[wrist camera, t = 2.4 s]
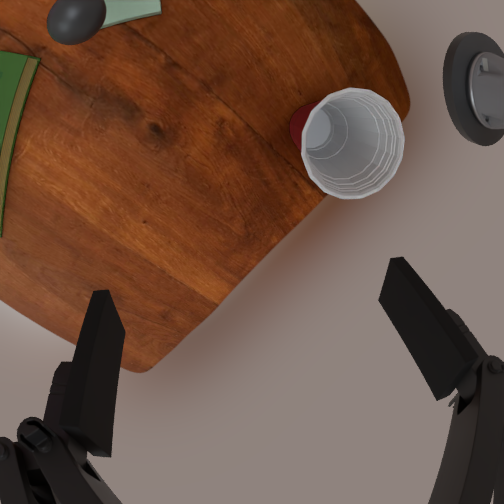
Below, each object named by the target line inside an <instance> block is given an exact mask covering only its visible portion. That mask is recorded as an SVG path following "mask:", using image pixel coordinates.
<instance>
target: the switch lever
mask: <svg viewBox="0 0 504 504" xmlns="http://www.w3.org/2000/svg"><path fill="white" fill-rule="evenodd" d="M106 13H107V9H106V4H105V1H104V0H57V1H56V2H55V4H54V5H53V6H52V8H51V10H50V12H49V14H48V18H47V29H48V32H49V34H50V36H51V37H52V38H53V39H54V40H55V41H57V42H58V43H61V44H65V45H75V44H79V43H82V42H85V41H87V40H89V39H90V38H92V37H93V36H94V35H95V34H96V33H97V32H98V31H99V30H100V28H101V27H102V25H103V23H104V21H105V18H106Z"/></svg>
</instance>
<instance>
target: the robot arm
mask: <svg viewBox="0 0 504 504" xmlns="http://www.w3.org/2000/svg"><path fill="white" fill-rule="evenodd" d="M465 86H466V96H467V101H468V104H469V108H470V110H471V112H472V115H473V116H474V118H475V119H476V121H477V122H478V123H479V124H480V125H482V126H484V127H487V128H490V129H504V58H502V57H500V56H498V55H496V54H493V53H490V52H478V53H476V54H475V55H474V56H473V57H472V58H471V60H470V62H469V64H468V67H467V71H466V81H465ZM378 301H379V302H380V304H381V305H382V307H383V309H384V310H385V312H386V313H387V315H388V317H389V318H390V320H391V321H392V323H393V325H394V326H395V328H396V330H397V331H398V333H399V335H400V336H401V338H402V340H403V341H404V343H405V345H406V347H407V348H408V350H409V352H410V353H411V355H412V357H413V359H414V360H415V362H416V364H417V366H418V367H419V369H420V371H421V373H422V374H423V376H424V378H425V380H426V382H427V384H428V385H429V387H430V389H431V391H432V393H433V395H434V397H435V398H436V400H437V401H438V400H440V399H443V398H445V397H447V396H449V395H450V394H451V393H452V392H453V391H454V389H455V388H456V389H457V390H458V393H457V394H456V396H455V397H454V398H453V399H452V400H451V401H450V403H449V405H448V406H449V407H450V406H451V405H452V404H453V403H454V402H455V404H454V406H453V408H454V410H453V415H452V420H451V425H450V430H449V434H448V439H447V443H446V447H445V451H444V455H443V458H442V462H441V466H440V469H439V472H438V476H437V479H436V482H435V485H434V488H433V491H432V494H431V498H430V500H429V503H428V504H490V502H491V498H492V494H493V490H494V500H493V504H504V362H503V361H502V360H500V359H499V358H498V357H496V356H491V355H490V356H488V355H487V354H486V352H485V351H484V349H483V348H482V347H481V345H480V344H479V342H478V341H477V339H476V338H475V337H474V335H473V334H472V332H470V331H469V329H468V327H467V326H466V325H465V323H464V322H463V320H462V319H461V318H460V316H459V315H458V314H456V313H455V312H454V311H452V310H451V309H447V310H445V308H444V307H443V306H442V305H441V303H440V302H439V301H438V299H437V298H436V297H435V295H434V294H433V293H432V291H431V290H430V289H429V288H428V286H427V285H426V284H425V283H424V282H423V280H422V279H421V278H420V277H419V275H418V274H417V273H416V272H415V271H414V269H413V268H412V267H411V266H410V265H409V263H408V262H407V261H406V260H405V259H404V257H396V258H390V262H389V266H388V269H387V273H386V276H385V280H384V283H383V286H382V290H381V293H380V297H379V300H378ZM124 338H125V329H124V327H123V325H122V322H121V320H120V317H119V315H118V312H117V310H116V307H115V305H114V302H113V300H112V297H111V295H110V292H109V290H98V291H93V294H92V297H91V300H90V303H89V306H88V309H87V312H86V315H85V318H84V322H83V325H82V328H81V332H80V335H79V338H78V342H77V346H76V350H75V353H74V357H73V360H72V362H61V364H60V365H59V366H58V368H57V369H56V371H55V373H54V377H53V381H52V385H51V388H50V394H49V396H48V401H47V406H46V410H45V414H44V419H43V421H42V420H41V419H39V418H37V417H29V418H26V419H24V420H23V422H21V423H20V426H19V427H18V429H17V439H18V442H12V441H11V440H10V439H8V438H6V437H0V500H1V504H122V503H121V501H120V500H119V499H118V498H117V497H116V495H115V494H114V493H113V492H112V491H111V489H110V488H109V487H108V486H107V484H106V483H105V482H104V480H103V479H102V478H101V477H100V475H99V474H98V473H97V471H96V470H95V468H94V467H93V466H92V465H91V463H90V461H89V460H88V459H87V451H88V452H90V453H91V454H92V455H93V456H100V457H111V451H112V437H113V425H114V424H113V423H114V413H115V404H116V395H117V386H118V378H119V371H120V364H121V357H122V351H123V344H124Z"/></svg>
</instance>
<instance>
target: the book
mask: <svg viewBox="0 0 504 504" xmlns="http://www.w3.org/2000/svg"><path fill="white" fill-rule="evenodd" d="M40 60H41V58H37V57H32V56H27V55H22V54H16V53H11V52H5V51H0V237H2V227H3V215H4V206H5V197H6V190H7V183H8V177H9V171H10V165H11V160H12V155H13V150H14V145H15V141H16V137H17V133H18V129H19V125H20V121H21V117H22V114H23V110H24V107H25V103H26V100H27V97H28V94H29V91H30V88H31V85H32V82H33V79H34V76H35V73H36V70H37V68H38V65H39V63H40Z"/></svg>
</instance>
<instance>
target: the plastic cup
mask: <svg viewBox="0 0 504 504" xmlns="http://www.w3.org/2000/svg"><path fill="white" fill-rule="evenodd" d="M290 135H291V137H292V140H293V142H294V143H295V144H296V145H297V147H298V149H299V150H300V152H301V156H302V159H303V161H304V164H305V167H306V169H307V172H308V175H309V177H310V178H311V179H312V180H313V181H314V182H315V183H316V184H317V185H318V186H319V187H320V188H321V189H322V191H323V192H325V193H328V194H330V195H333V196H335V197H338V198H340V199H361V198H364V197H366V196H368V195H371V194H373V193H375V192H377V191H379V190H381V189H382V188H383V186H384V185H385V184H386V183H388V182H389V181H390V180H391V179H392V178H393V176H394V175H395V173H396V171H397V168H398V166H399V164H400V162H401V160H402V157H403V149H404V140H405V137H404V133H403V129H402V124H401V120H400V117H399V116H398V114H397V113H396V111H395V110H394V109H393V107H392V106H391V104H390V103H389V102H388V101H387V100H386V99H384V98H383V97H381V96H379V95H378V94H376V93H374V92H373V91H371V90H366V89H358V88H347V89H344V90H341V91H338V92H335V93H332V94H329V95H327V96H326V97H325V98H324V99H323V100H321V101H317V102H315V103H312V104H308V105H305V106H303V107H300V108H299V109H298V110H297V111H296V112H295V113H294V114H293V116H292V118H291V121H290Z"/></svg>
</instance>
